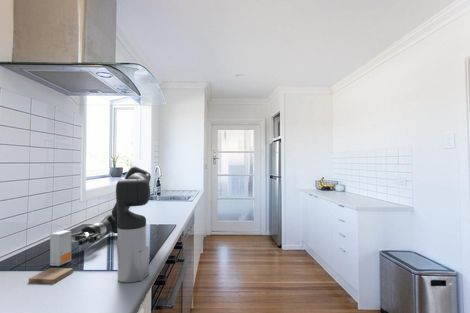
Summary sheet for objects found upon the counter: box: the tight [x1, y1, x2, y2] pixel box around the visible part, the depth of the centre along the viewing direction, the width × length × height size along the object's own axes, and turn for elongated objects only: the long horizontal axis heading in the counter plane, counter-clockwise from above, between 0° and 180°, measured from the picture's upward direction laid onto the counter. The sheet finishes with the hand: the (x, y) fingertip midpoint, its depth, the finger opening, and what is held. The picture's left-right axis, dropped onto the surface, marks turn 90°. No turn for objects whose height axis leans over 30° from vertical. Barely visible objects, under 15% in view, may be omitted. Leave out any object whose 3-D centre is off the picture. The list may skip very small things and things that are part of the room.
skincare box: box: [49, 229, 72, 267], centre depth 107 cm, size 6×4×12 cm
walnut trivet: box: [28, 267, 74, 284], centre depth 95 cm, size 9×9×1 cm
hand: (69, 242), depth 112 cm, fingers open, 8 cm apart
